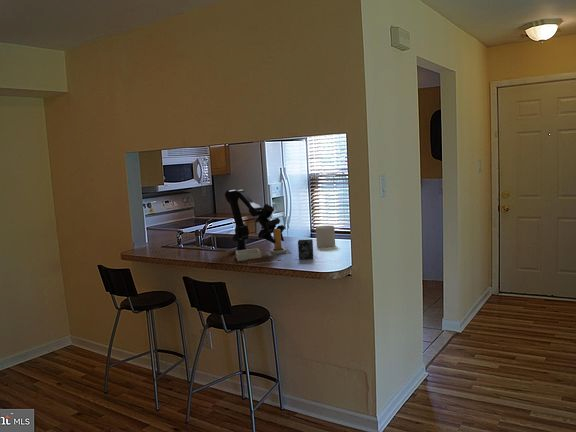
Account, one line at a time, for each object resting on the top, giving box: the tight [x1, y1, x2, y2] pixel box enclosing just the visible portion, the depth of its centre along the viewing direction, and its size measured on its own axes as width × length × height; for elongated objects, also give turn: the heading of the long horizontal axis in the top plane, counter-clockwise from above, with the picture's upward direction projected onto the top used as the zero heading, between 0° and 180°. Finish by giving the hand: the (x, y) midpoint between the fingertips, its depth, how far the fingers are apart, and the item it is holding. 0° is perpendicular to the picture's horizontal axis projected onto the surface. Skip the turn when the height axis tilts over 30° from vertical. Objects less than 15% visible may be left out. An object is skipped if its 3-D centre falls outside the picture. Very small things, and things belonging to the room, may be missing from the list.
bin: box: [235, 248, 262, 263], centre depth 301 cm, size 14×14×4 cm
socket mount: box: [265, 247, 293, 257], centre depth 306 cm, size 14×14×3 cm
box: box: [297, 238, 314, 260], centre depth 289 cm, size 8×6×11 cm
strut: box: [272, 228, 283, 251], centre depth 306 cm, size 4×4×14 cm
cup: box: [315, 225, 336, 248], centre depth 322 cm, size 12×12×12 cm
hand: (279, 242), depth 305 cm, fingers open, 7 cm apart
